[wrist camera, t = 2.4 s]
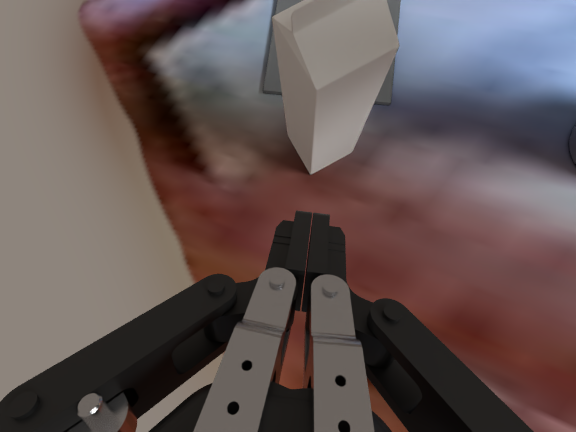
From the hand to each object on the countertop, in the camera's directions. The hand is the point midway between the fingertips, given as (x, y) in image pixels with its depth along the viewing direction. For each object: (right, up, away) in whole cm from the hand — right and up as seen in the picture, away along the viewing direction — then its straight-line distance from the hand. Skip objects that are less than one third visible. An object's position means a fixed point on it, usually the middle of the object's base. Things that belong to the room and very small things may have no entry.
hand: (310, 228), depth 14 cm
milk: (+3, +10, +24) cm, 26 cm away
